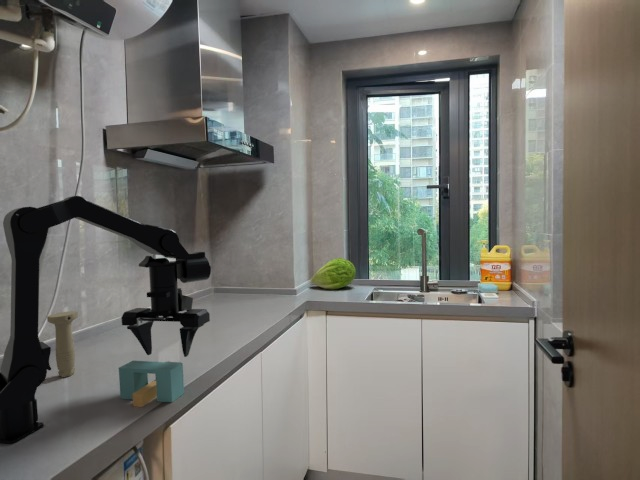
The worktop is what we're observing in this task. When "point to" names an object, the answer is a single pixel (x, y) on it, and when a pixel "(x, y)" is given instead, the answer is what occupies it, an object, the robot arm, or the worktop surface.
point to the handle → (64, 341)
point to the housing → (166, 379)
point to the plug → (146, 393)
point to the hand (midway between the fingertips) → (167, 355)
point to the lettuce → (335, 274)
